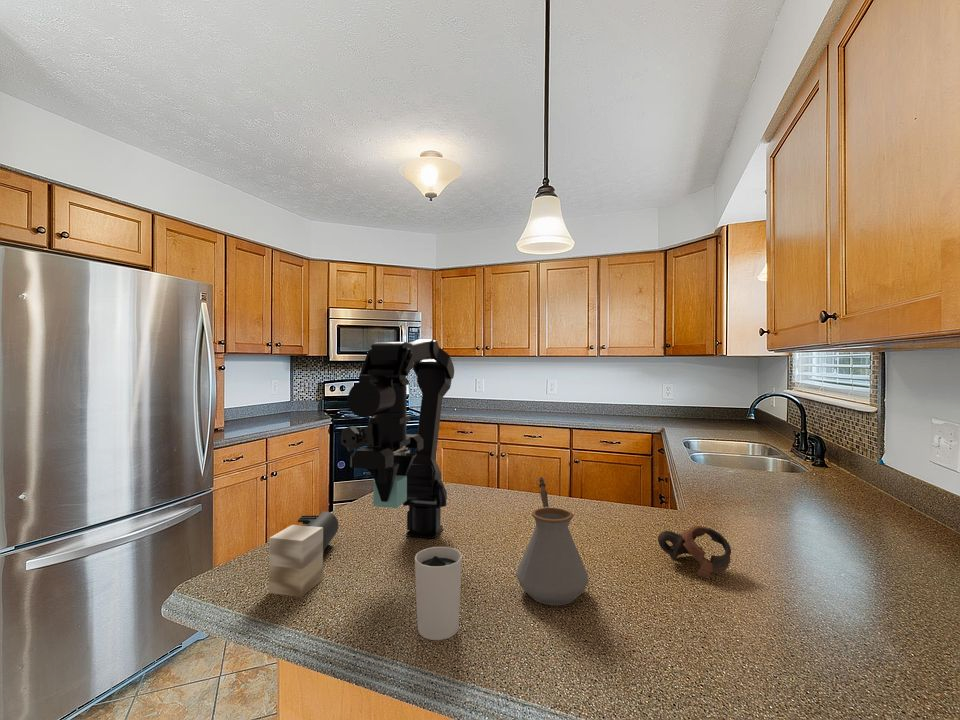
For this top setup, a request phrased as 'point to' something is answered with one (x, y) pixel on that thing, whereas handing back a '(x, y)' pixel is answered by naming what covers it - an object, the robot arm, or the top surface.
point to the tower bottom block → (295, 578)
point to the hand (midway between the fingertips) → (390, 497)
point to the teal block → (392, 493)
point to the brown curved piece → (696, 548)
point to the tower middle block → (295, 546)
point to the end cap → (323, 525)
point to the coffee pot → (552, 558)
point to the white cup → (438, 592)
